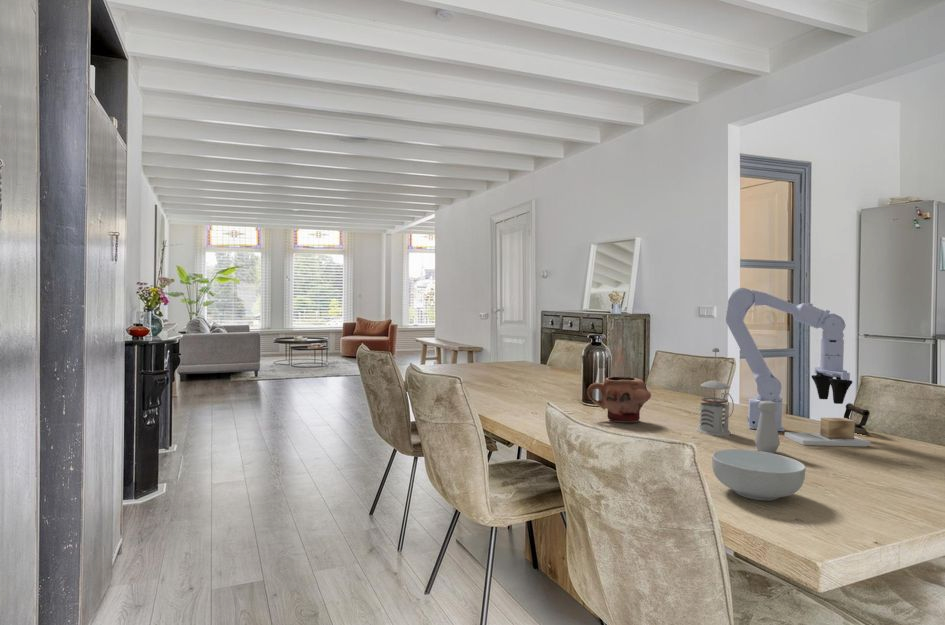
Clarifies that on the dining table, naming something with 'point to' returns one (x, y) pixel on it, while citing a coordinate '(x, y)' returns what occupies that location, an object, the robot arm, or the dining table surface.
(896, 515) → the dining table surface
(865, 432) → the clothes iron
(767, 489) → the cereal bowl
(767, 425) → the salt shaker
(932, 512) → the dining table surface
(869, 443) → the board
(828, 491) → the dining table surface
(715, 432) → the french press
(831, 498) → the dining table surface
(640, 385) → the brown clay mug
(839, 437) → the block
